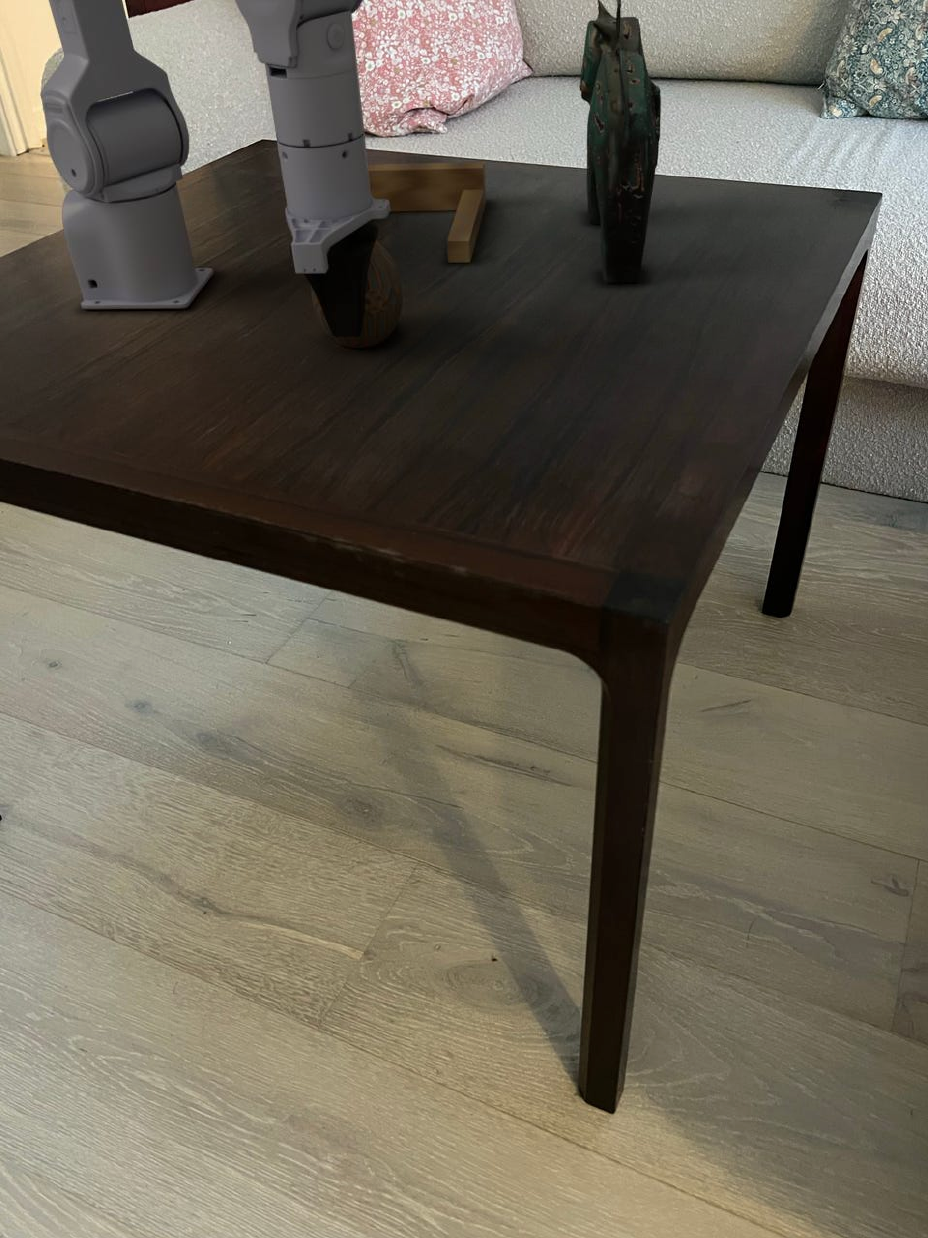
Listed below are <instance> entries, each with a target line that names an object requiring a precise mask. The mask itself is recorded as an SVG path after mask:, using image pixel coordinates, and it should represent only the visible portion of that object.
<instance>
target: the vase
mask: <svg viewBox="0 0 928 1238" xmlns="http://www.w3.org/2000/svg"><path fill="white" fill-rule="evenodd" d="M310 291H311V292H310V293H311V301H312V306H313V310H314V313H315V316H316V318H317V321H318V322H319V324H320V326H321V328H322V329H323V331H324V332H325V333H326V334H327V335H328V337H330V338H331V339H332V340H334V341H335V342H337V344H339V345H341V346H343V347H347V348H351V349H352V348H354V349H362V348H369V347H374V346H377V345H380V344H381V343H383V342H385V341H386V340H387V339H388V338H389V337H390V336H391V334H392V333H393V332H394V331H395V329H396V327H397V325H398V324H399V321H400V318H401V314H402V309H403V302H404V301H403V296H404V295H403V283H402V279H401V276H400V273H399V270H398V267H397V265H396V263H395V260H394V259H393V257H392V255H390V253H389V252H388V250H387V249H386V248H385V247H384V246H383V245H382V244H381V243H380V242H379V241H378V240H377V239H376V242H375V245H374V248H373V251H372V255H371V259H370V263H369V268H368V274H367V282H366V295H365V311H364V321H363V327H362V331H361V334H360V336H358V337H334V336H333V335H332V333H331V331H330V329H329V327H328V325H327V322H326V320H325V317H324V314H323V312H322V309H321V307H320V304H319V302H318V299H317V297H316V295H315V292H314V290H313V289H312V287H311V286H310Z"/></svg>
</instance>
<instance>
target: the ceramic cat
mask: <svg viewBox="0 0 928 1238" xmlns="http://www.w3.org/2000/svg"><path fill="white" fill-rule="evenodd" d="M615 1H616V14H615V15H616V16H613V15H612V14H611V13H610V12H609V11H608V9H606V7H605V6H604V4H603V2H602V1H601V0H597V4H598V7H597V10H598V13H597V18H596V19H593V20H589V21H588V22H587V25H586V31H585V37H584V45H583V46H584V47H583V55H582V61H581V62H582V63H581V67H580V68H581V69H580V79H579V86H578V88H579V91H580V98H581V99H582V100H583V101H585V102H586V103H587V104H588V105H589V109H588V114H587V115H588V116H587V122H586V123H587V124H586V199H587V200H586V201H587V217H588V222H589V224H592V225H596V226H600V232H599V237H600V238H599V239H600V261H601V262H600V263H601V269H602V278H603V280H604V281H605V282H606V283H607V284H625V283H628V284H631V283H632V284H633V283H635V284H636V283H639V282H640V280H641V279H640V278H641V273H642V264H643V257H644V256H643V255H644V251H645V245H646V240H647V231H648V223H649V217H650V216H649V214H650V210H651V209H650V207H651V204H652V203H651V202H652V196H653V191H654V190H653V189H654V184H655V178H656V169H657V168H658V163H659V162H658V161H659V150H660V139H661V112H662V97H661V96H662V95H661V89H660V87H659V86H658V85H657V84H655V83H654V82H653V81H652V80H651V78H650V74H649V73H648V68H647V62H646V58H645V54H644V49H643V42H642V34H641V25H640V20H639V19H638V18H637V17H636V16H622V15H621V13H622V10H621V8H622V0H615Z"/></svg>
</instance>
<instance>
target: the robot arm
mask: <svg viewBox="0 0 928 1238" xmlns="http://www.w3.org/2000/svg"><path fill="white" fill-rule="evenodd" d="M363 1H364V0H234V2H235V4H236V6H237V8H238V10H239V12H240V14H241V15H242V17H243V19H244V21H245V22H246V25H247V26H248V30H249V33H250V37H251V42H252V49H253V52H254V53H255V54H256V56H257V59H258V62H259V63H260V64H264V69H265V70H264V71H265V76H266V82H267V88H268V93H269V95H268V96H269V100H270V106H271V107H270V108H271V113H272V119H273V125H274V132H275V137H276V144H277V150H278V156H279V162H280V168H281V174H282V181H283V186H284V193H285V199H286V207H285V209H284V210H285V218H286V219H285V220H286V223H287V226H288V229H289V232H290V234H291V237H292V240H291V241H292V242H291V243H290V245H289V247H288V248H289V253H290V257H291V259H292V262H293V266H294V267H293V268H294V272H295V274H296V275H297V274H298V275H299V274H300V275H301V274H303V275H304V277H305V279H306V280H307V281H308V283H309V285H310V288H311V287H312V289H313V290H314V292H315V295H316V297H317V299H318V302H319V304H320V307H321V309H322V312H323V314H324V317H325V320H326V322H327V325H328V327H329V329H330V331H331V333H332V335H333V336H334V337H358V336H360V334H361V331H362V327H363V321H364V311H365V295H366V282H367V274H368V268H369V263H370V259H371V255H372V251H373V248H374V245H375V242H376V240H377V239H378V236H379V227H378V225H376V224H374V223H370V222H371V221H373V220H383V219H386V218H388V216H389V214H390V213H391V212H390V202H389V200H385V199H374V198H373V197H372V195H371V190H370V180H369V171H368V165H369V164H368V163H369V162H368V155H367V143H366V134H365V125H364V123H365V122H364V116H363V115H364V114H363V105H362V98H361V88H360V79H359V78H360V77H359V70H358V60H357V59H358V58H357V51H356V41H355V32H354V31H355V30H354V23H353V14H354V13H355V12H356V11H357V10H359V8H360V7H361V5H362V3H363ZM48 3H49V6H50V9H51V14H52V17H53V20H54V24H55V28H56V31H57V35H58V38H59V42H60V46H61V47H62V52H63V57H62V59H61V61H60V62H59V64H58V66H57V67H56V69H55V70H54V72H53V73H52V74H51V76H49V78H48V80H47V81H46V83H45V84H44V86H43V87H42V89H41V90H40V93H39V96H40V99H41V103H42V107H43V113H44V118H45V124H46V143H47V148H48V152H49V155H50V158H51V161H52V162H53V165H54V167H55V168H56V170H57V172H58V174H59V175H60V177H61V178H62V180H63V181H64V182H65V183H66V184H67V185H68V186H69V187H70V188H71V189H70V190H68V191H67V193H66V194H65V196H64V197H63V198H64V199H63V202H62V205H61V206H62V207H61V221H62V231H63V234H64V237H65V242H66V245H67V248H68V252H69V255H70V258H71V261H72V264H73V267H74V268H73V269H74V271H75V275H76V278H77V281H78V284H79V288H80V291H81V295H82V298H83V300H82V301H81V302H80V306H81V309H83V310H147V309H149V310H153V309H154V310H155V309H156V310H158V309H163V310H164V309H167V310H168V309H186V308H189V306H190V305H191V304H192V302H193V301H194V300H195V299H196V297H197V296H198V295H199V293H200V292H201V291H202V289H203V288H204V287H205V286H206V284H208V281H209V280H210V279H211V277H212V276H213V275H214V269H213V268H210V267H196V264H195V259H194V255H193V251H192V246H191V242H190V238H189V233H188V230H187V229H188V228H187V225H186V220H185V216H184V215H185V214H184V211H183V207H182V203H181V198H180V193H179V189H178V184H177V182H178V181H180V180H183V179H184V177H183V172H182V167H183V166H184V165H185V164H186V162H187V160H188V157H189V153H190V133H189V127H188V125H187V121H186V119H185V116H184V114H183V112H182V110H181V108H180V107H179V105H178V103H177V101H176V98H175V95H174V93H173V90H172V88H171V84H170V80H169V75H168V72H166V71H165V70H164V69H163V68H161V67H160V65H158V64H156V63H154V62H153V61H151V60H150V59H148V58H146V57H145V56H144V55H142V54H141V53H139V52H138V51H137V50H135V47H134V46H135V45H134V43H133V39H132V38H133V37H132V35H131V30H130V27H129V23H128V19H127V18H128V17H127V15H126V10H125V5H124V3H123V0H48Z"/></svg>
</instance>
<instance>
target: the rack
mask: <svg viewBox="0 0 928 1238" xmlns="http://www.w3.org/2000/svg"><path fill="white" fill-rule="evenodd" d="M485 164H486V162H485V161H466V162H465V161H463V162H462V161H461V162H458V161H457V162H423V163H422V162H421V163H420V162H419V163H417V162H416V163H415V162H414V163H380V164H368V171H369V180H370V190H371V195H372V197H373V198H374V199H385V200H389V202H390V212H389V213H391V212H435V211H437V212H438V211H441V212H442V211H445V212H446V211H456V212H455V215H454V217H453V221H452V225H451V227H450V231H449V233H448V237H447V239H446V250H447V251H446V253H447V262H448V263H449V264H456V263H457V264H460V263H462V264H463V263H467V264H468V263H471V261H472V257H473V253H474V250H475V246H476V241H477V238H478V234H479V231H480V227H481V223H482V220H483V216H484V213H485V210H486V209H485V208H486V205H487V194H486V193H487V191H486V188H487V187H486V167H485Z"/></svg>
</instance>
